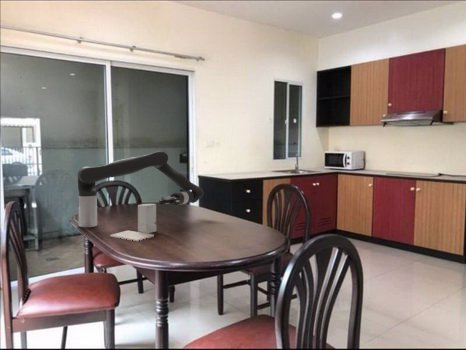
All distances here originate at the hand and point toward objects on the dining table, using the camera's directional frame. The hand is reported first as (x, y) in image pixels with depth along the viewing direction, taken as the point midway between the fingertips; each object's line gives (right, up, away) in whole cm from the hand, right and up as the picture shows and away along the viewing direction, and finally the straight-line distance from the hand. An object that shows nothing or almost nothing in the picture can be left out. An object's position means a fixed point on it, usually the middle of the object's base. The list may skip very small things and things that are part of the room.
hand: (160, 202), depth 206 cm
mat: (-11, -16, -17) cm, 26 cm away
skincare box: (-5, -15, -8) cm, 18 cm away
